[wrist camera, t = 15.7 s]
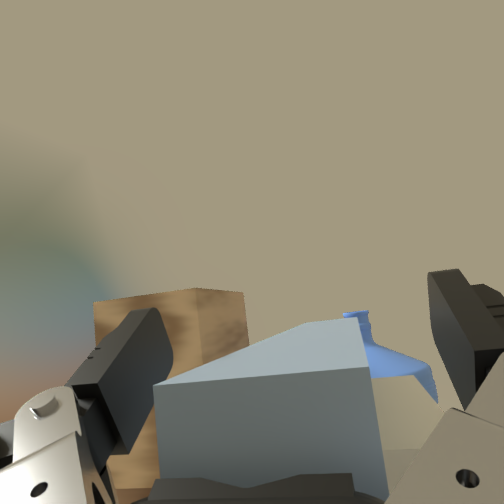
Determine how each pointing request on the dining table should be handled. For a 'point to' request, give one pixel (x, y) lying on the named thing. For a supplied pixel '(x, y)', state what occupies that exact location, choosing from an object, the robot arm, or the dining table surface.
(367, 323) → the water jug
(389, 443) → the pedestal
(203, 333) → the brown tall rectangular block
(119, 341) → the robot arm
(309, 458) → the bar
